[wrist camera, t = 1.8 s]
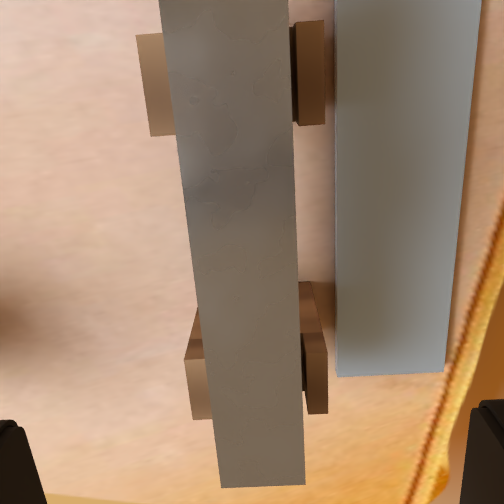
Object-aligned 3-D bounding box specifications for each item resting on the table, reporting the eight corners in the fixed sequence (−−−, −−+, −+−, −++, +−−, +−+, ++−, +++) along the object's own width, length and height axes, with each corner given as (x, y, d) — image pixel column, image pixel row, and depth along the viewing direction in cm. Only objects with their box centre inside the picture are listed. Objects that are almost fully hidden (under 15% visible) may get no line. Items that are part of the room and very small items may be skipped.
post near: (173, 46, 24) (135, 35, 16) (303, 36, 23) (324, 20, 16) (181, 118, 25) (150, 136, 18) (305, 109, 25) (324, 124, 17)
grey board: (334, -38, 22) (336, -42, 21) (479, -51, 22) (487, -55, 21) (335, 369, 31) (337, 377, 30) (439, 364, 31) (443, 371, 30)
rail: (174, -29, 17) (151, -56, 13) (279, -37, 17) (285, -68, 13) (226, 426, 25) (221, 488, 22) (298, 423, 25) (305, 484, 21)
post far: (202, 287, 29) (184, 359, 21) (309, 281, 28) (327, 352, 21) (208, 336, 30) (192, 420, 23) (311, 330, 30) (328, 413, 23)
